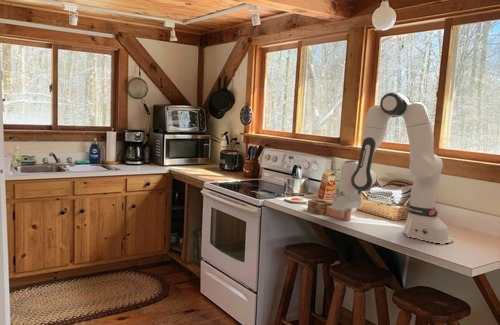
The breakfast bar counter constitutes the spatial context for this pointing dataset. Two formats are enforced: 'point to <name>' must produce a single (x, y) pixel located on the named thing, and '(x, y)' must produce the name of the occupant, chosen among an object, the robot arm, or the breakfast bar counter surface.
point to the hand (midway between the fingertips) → (345, 217)
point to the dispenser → (318, 206)
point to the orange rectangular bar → (337, 213)
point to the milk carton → (327, 186)
